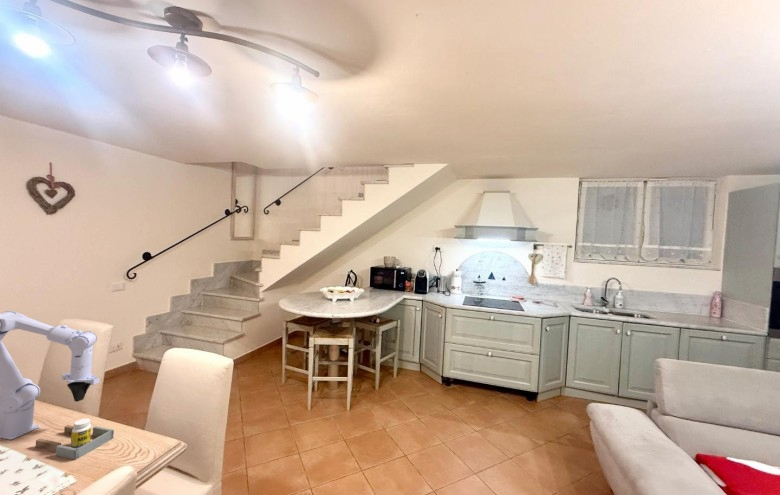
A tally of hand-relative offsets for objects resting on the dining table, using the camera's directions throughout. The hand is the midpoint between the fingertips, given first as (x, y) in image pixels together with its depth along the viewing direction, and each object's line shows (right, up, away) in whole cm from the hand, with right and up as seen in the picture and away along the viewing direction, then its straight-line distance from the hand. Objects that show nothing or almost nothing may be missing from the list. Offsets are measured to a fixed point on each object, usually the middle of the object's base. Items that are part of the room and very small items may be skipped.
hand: (79, 400), depth 116 cm
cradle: (+13, -11, -10) cm, 20 cm away
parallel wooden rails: (+3, -10, -9) cm, 14 cm away
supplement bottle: (+11, -11, -10) cm, 18 cm away
